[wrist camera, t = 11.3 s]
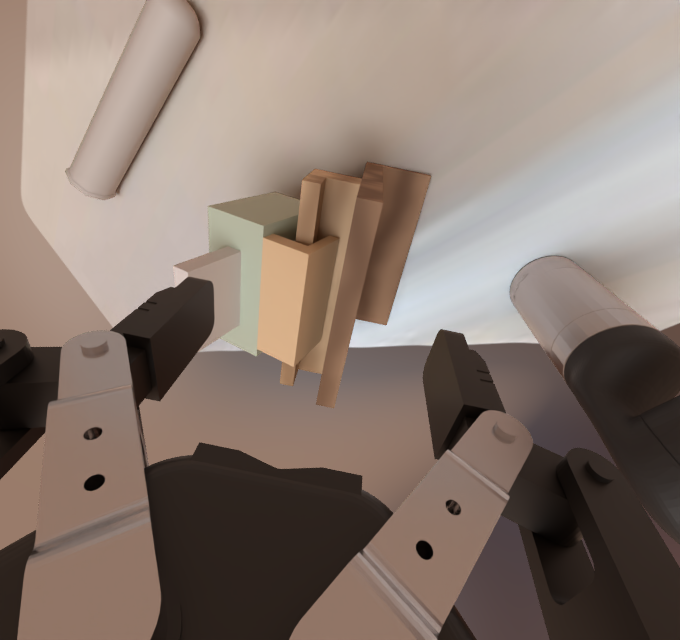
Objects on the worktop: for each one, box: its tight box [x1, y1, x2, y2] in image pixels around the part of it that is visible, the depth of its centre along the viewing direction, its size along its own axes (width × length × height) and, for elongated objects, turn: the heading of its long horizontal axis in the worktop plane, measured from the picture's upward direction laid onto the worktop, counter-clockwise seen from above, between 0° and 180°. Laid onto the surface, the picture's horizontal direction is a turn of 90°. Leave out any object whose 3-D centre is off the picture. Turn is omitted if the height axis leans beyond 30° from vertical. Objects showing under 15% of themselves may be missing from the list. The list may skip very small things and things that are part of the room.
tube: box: [65, 0, 200, 200], centre depth 40 cm, size 5×5×25 cm
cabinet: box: [173, 192, 339, 367], centre depth 34 cm, size 10×14×16 cm
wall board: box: [280, 162, 431, 408], centre depth 39 cm, size 12×22×20 cm, turn 170°
